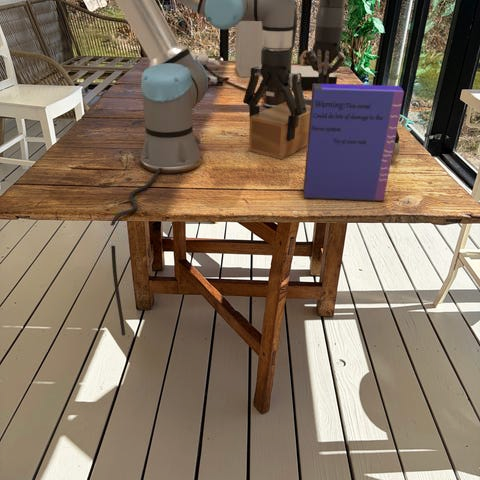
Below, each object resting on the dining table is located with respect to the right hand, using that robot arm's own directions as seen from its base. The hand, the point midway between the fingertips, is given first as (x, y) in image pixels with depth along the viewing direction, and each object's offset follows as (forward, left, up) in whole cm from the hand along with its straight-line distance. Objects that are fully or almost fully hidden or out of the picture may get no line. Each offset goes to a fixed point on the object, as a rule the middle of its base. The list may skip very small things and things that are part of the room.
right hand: (322, 86), depth 144 cm
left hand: (+23, -16, -8) cm, 29 cm away
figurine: (-52, -45, -13) cm, 70 cm away
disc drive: (-58, +4, -13) cm, 60 cm away
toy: (-86, -50, -13) cm, 101 cm away
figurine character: (+24, +14, -13) cm, 30 cm away
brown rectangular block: (+17, -12, -13) cm, 24 cm away
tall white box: (-78, -20, -13) cm, 82 cm away
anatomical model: (-85, +6, -13) cm, 86 cm away
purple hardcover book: (+50, -1, -13) cm, 51 cm away
